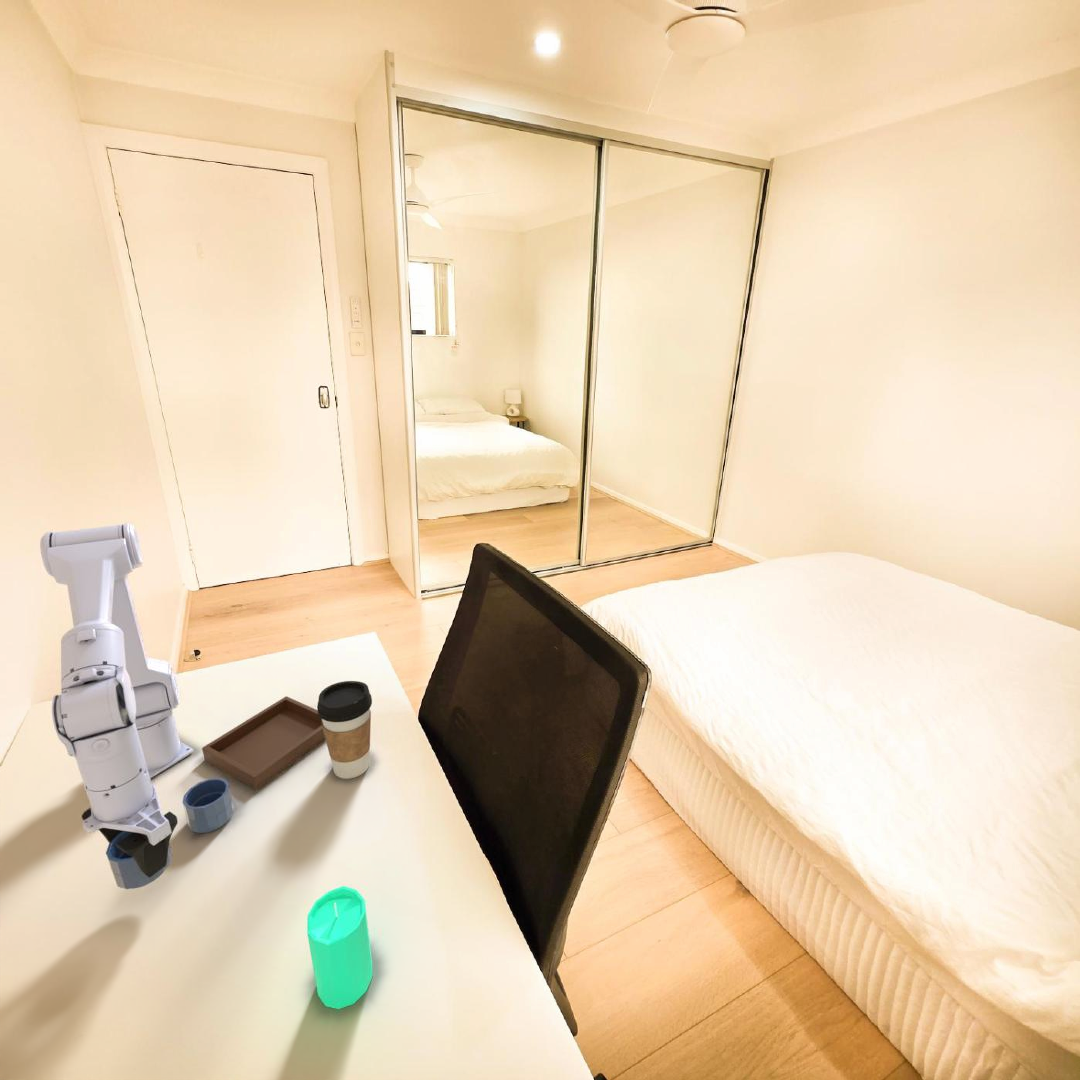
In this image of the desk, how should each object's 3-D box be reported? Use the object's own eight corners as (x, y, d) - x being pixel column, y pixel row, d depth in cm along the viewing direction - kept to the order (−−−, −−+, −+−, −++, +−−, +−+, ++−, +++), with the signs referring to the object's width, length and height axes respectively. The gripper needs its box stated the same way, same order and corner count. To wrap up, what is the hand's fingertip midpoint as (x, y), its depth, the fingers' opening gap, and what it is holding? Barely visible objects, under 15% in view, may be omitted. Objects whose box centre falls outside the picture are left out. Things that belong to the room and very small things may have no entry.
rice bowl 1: (106, 878, 66) (95, 848, 64) (157, 842, 71) (148, 813, 69) (131, 900, 63) (122, 870, 61) (183, 861, 68) (175, 832, 66)
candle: (326, 952, 63) (314, 878, 59) (378, 948, 63) (370, 875, 59) (309, 1011, 57) (295, 934, 53) (366, 1007, 58) (357, 930, 54)
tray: (204, 760, 91) (201, 747, 90) (287, 706, 105) (286, 695, 104) (256, 790, 85) (253, 777, 84) (337, 729, 99) (336, 718, 98)
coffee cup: (362, 788, 86) (353, 712, 81) (315, 779, 87) (304, 703, 82) (386, 753, 94) (380, 680, 89) (342, 745, 95) (334, 673, 90)
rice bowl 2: (180, 825, 78) (173, 799, 77) (219, 797, 83) (213, 772, 82) (204, 841, 76) (198, 815, 74) (243, 812, 81) (237, 786, 79)
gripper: (42, 771, 61) (73, 858, 66) (109, 823, 55) (138, 914, 60) (112, 735, 67) (136, 817, 72) (179, 778, 61) (201, 864, 66)
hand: (141, 858), depth 66 cm, fingers closed on rice bowl 1, 6 cm apart
